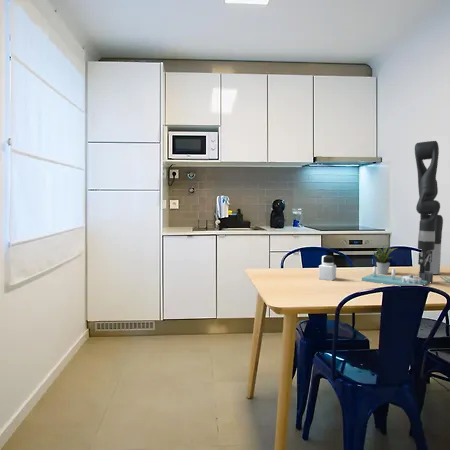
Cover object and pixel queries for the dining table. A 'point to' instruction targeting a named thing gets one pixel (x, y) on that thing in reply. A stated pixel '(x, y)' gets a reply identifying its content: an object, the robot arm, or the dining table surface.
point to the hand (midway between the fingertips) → (424, 272)
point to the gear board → (394, 279)
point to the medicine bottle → (327, 268)
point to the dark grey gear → (426, 276)
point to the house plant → (383, 260)
